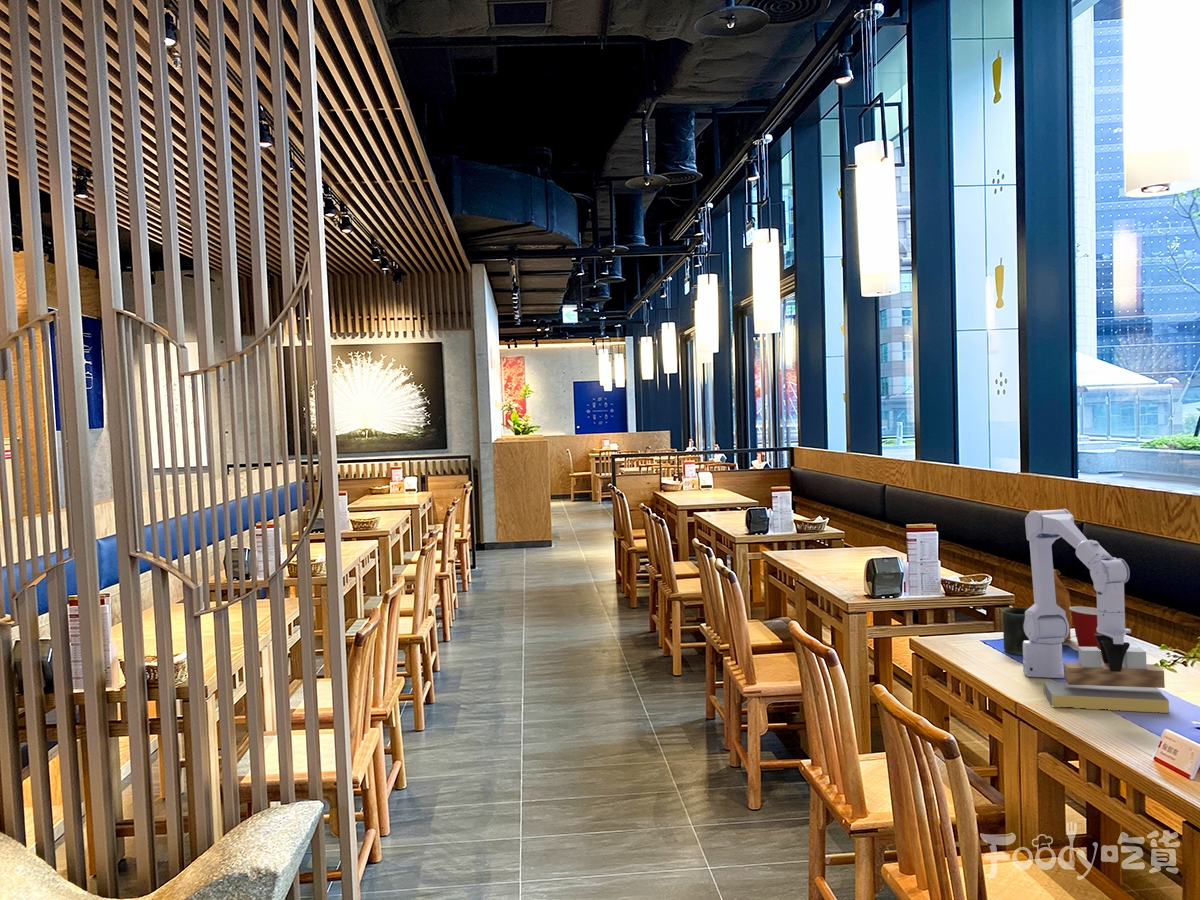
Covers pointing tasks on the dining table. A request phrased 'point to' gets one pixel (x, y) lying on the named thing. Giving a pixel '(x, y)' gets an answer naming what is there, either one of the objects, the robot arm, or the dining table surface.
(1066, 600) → the coffee package
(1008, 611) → the mug
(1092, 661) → the block
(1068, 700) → the dock
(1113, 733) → the dining table surface
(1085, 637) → the plastic cup
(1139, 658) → the block
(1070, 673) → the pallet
